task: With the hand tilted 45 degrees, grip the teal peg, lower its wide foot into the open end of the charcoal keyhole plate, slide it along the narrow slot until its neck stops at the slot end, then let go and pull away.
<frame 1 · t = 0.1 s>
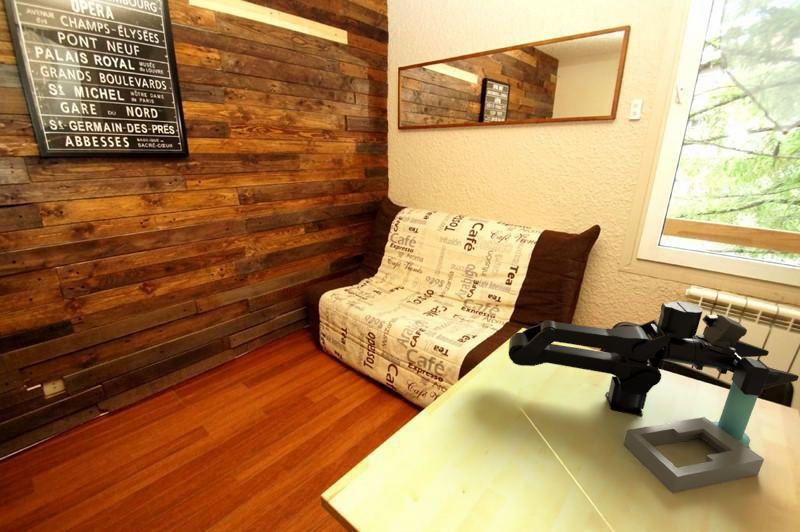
hand: (781, 364, 71), 16 cm above the table, tool horizontal, fingers open, 9 cm apart
keyhole plate: (687, 459, 69), on the table
peg: (727, 437, 74), on the table
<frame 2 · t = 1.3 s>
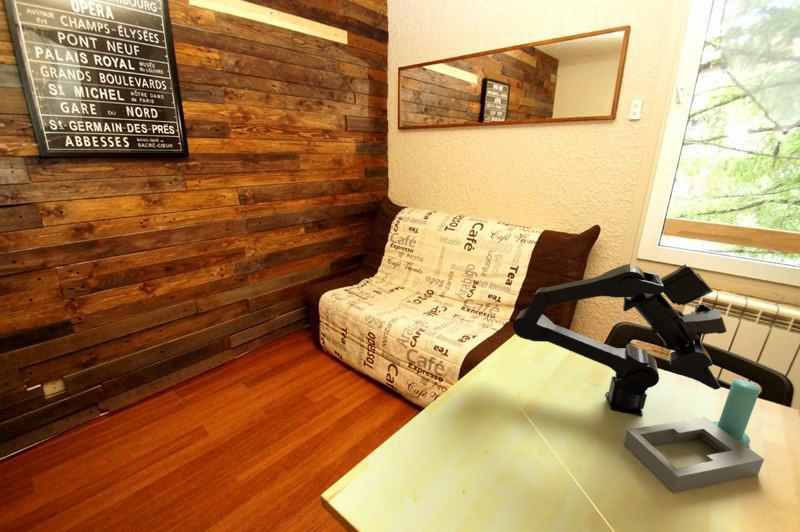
hand: (713, 376, 73), 13 cm above the table, tool tilted 45°, fingers open, 9 cm apart
nothing on the table moved.
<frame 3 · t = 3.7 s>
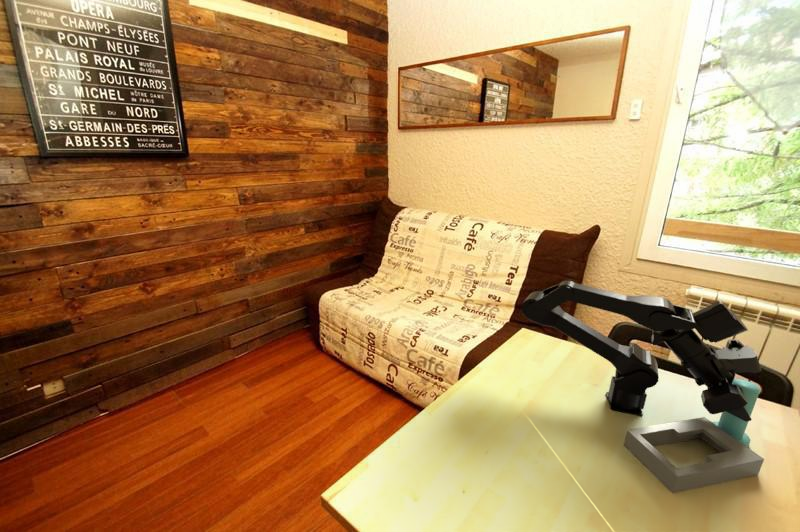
hand: (746, 414, 72), 7 cm above the table, tool tilted 45°, fingers closed on peg, 4 cm apart
peg: (727, 437, 74), on the table, touching gripper
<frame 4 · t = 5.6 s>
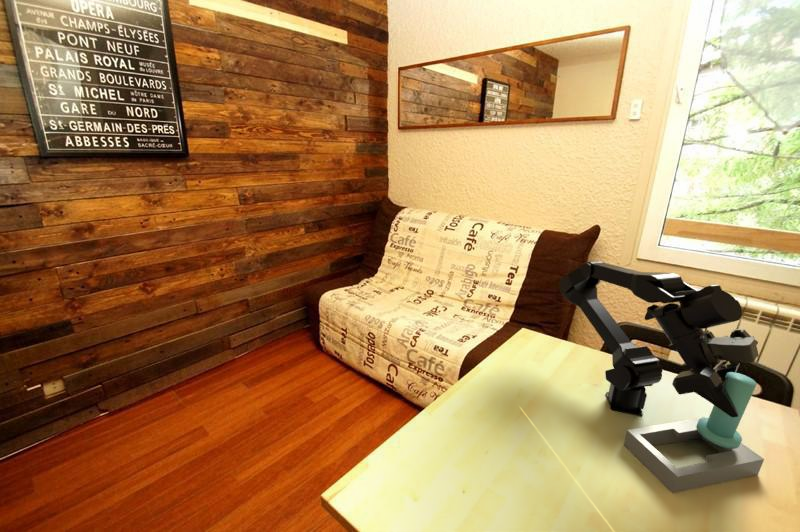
hand: (738, 411, 65), 12 cm above the table, tool tilted 45°, fingers closed on peg, 4 cm apart
peg: (717, 435, 68), point 5 cm above the table, touching gripper
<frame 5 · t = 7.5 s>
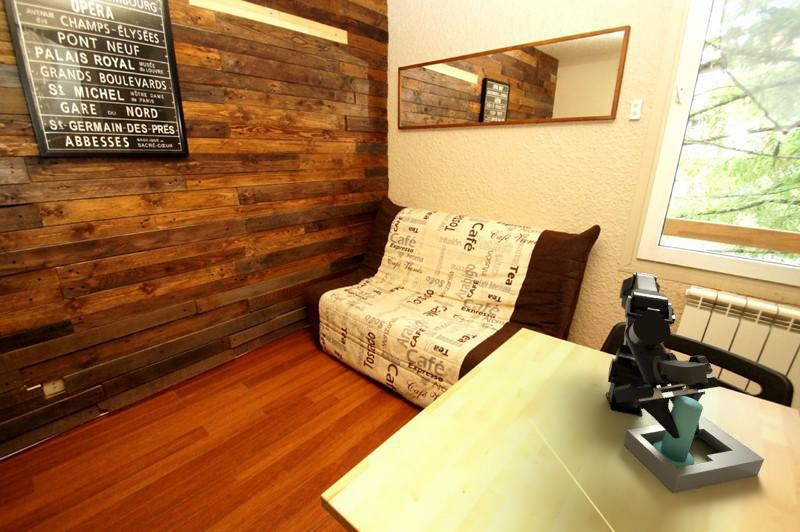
hand: (686, 436, 65), 8 cm above the table, tool tilted 45°, fingers closed on peg, 4 cm apart
peg: (671, 458, 68), point 1 cm above the table, touching gripper
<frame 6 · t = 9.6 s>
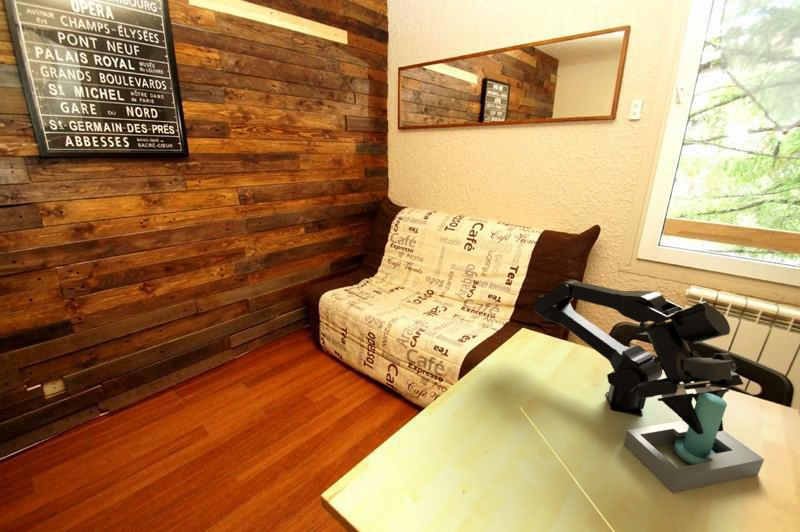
hand: (710, 432, 66), 8 cm above the table, tool tilted 45°, fingers closed on peg, 4 cm apart
peg: (694, 454, 69), point 1 cm above the table, touching gripper
when the fingers open (8 cm above the table, at t = 11.4 s): peg stays where it is, resting in keyhole plate.
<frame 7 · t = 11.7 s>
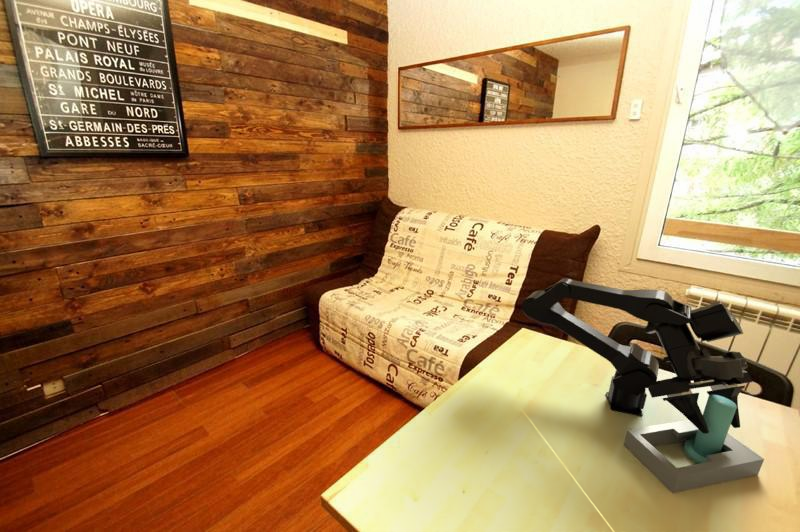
hand: (721, 430, 66), 8 cm above the table, tool tilted 45°, fingers open, 7 cm apart
peg: (703, 456, 70), resting in keyhole plate
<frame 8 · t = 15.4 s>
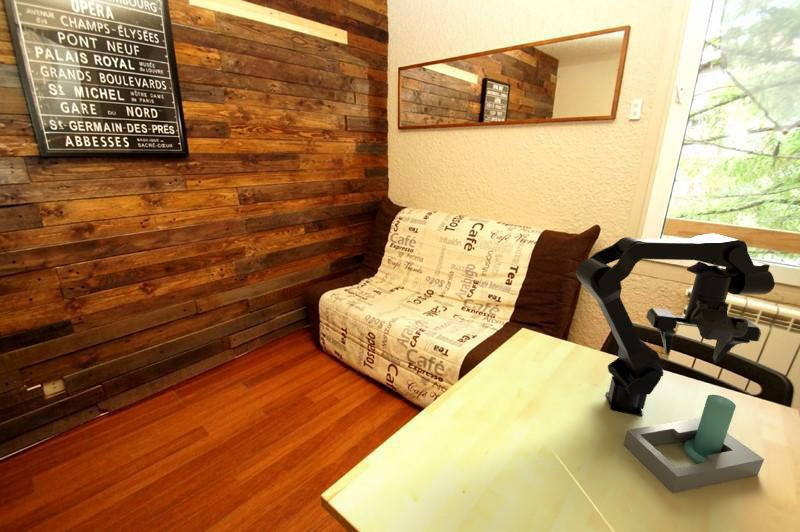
hand: (690, 357, 80), 13 cm above the table, tool pointing down, fingers open, 9 cm apart
nothing on the table moved.
at the end: peg 0.1 cm from the target spot on the keyhole plate, point 0.0 cm above the keyhole plate's base; peg tilted 1°; the gripper is holding nothing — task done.
